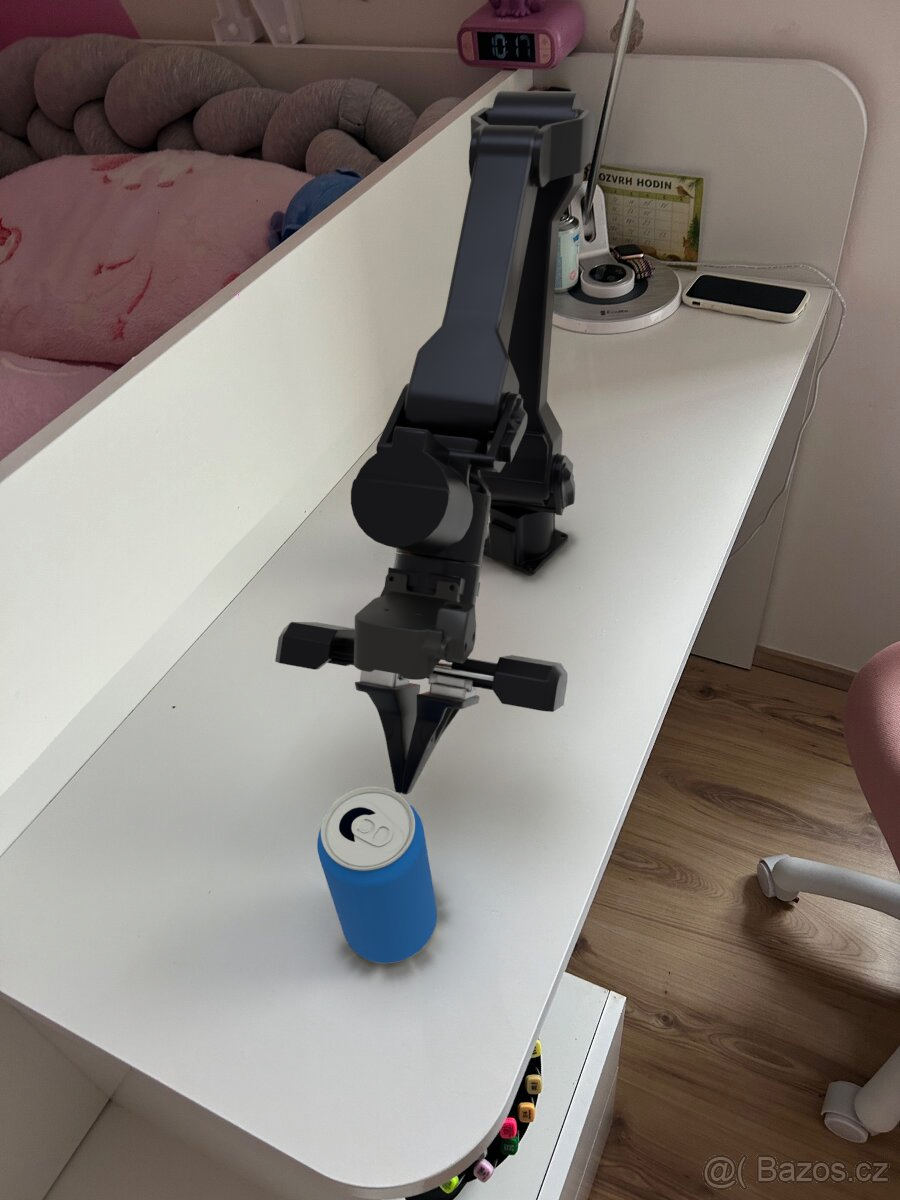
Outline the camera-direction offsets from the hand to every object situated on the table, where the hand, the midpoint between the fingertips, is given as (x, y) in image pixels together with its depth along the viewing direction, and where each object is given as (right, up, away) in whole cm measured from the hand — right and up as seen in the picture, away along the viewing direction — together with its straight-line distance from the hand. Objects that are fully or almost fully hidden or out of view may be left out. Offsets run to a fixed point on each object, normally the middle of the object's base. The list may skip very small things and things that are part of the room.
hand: (402, 792), depth 61 cm
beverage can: (-1, -9, +2) cm, 10 cm away
